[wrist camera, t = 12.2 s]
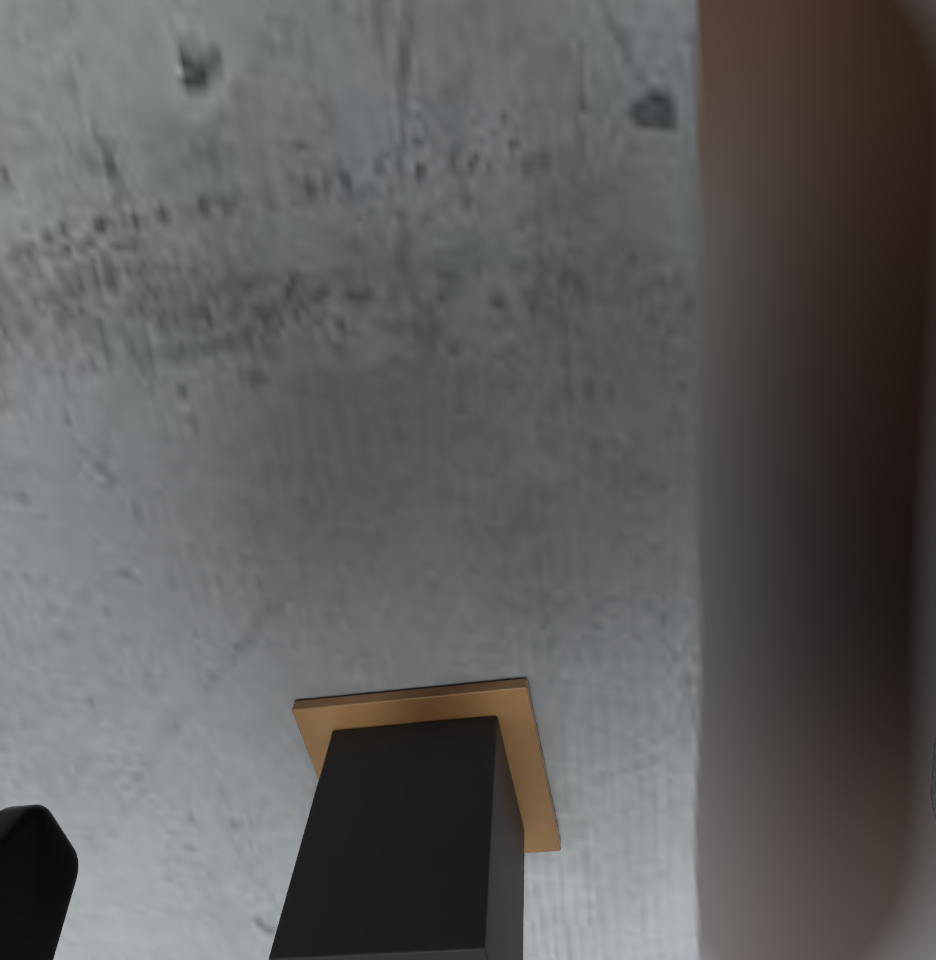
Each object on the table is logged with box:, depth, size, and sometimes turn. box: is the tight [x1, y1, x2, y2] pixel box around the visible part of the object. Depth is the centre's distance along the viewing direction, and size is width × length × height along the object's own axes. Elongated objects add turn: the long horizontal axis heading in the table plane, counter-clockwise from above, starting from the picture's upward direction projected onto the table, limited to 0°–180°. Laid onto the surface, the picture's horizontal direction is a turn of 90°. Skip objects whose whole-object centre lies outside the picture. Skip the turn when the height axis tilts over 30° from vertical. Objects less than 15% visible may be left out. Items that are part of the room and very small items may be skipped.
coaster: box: [292, 678, 561, 853], centre depth 26 cm, size 7×7×1 cm
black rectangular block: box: [269, 716, 525, 960], centre depth 23 cm, size 5×5×7 cm
